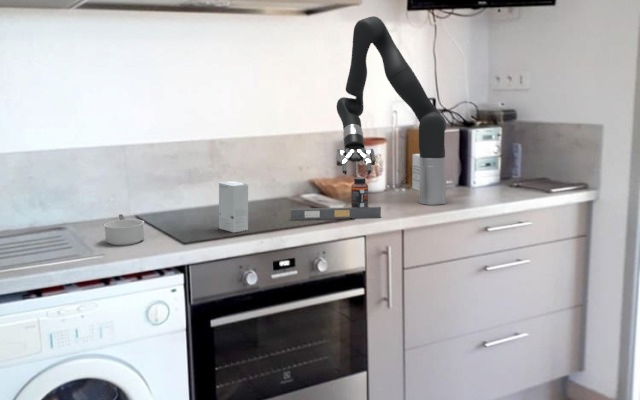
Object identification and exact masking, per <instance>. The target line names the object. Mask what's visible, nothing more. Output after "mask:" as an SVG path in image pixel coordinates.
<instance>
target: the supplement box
mask: <svg viewBox="0 0 640 400" xmlns="http://www.w3.org/2000/svg"><path fill="white" fill-rule="evenodd" d="M411 169H412V179H411V180H412V181H411V182H412V183H411V184H412V190H415V191H418V192H419V171H420V153H412V168H411Z"/></svg>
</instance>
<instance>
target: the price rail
mask: <svg viewBox="0 0 640 400" xmlns="http://www.w3.org/2000/svg"><path fill="white" fill-rule="evenodd" d="M381 209H382V208H381V206H368V207H352V206H351V207H349V206H348V207H318V208H290V221H309V220H310V221H313V220H315V221H317V219H320V220H347V219H349V220H350V218H352V220H353V219H354V220H355V219H381V218H382V217H381V215H382V214H381V213H382V212H381Z"/></svg>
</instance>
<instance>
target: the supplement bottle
mask: <svg viewBox="0 0 640 400" xmlns="http://www.w3.org/2000/svg"><path fill="white" fill-rule="evenodd" d="M353 179H354V180H353V183H352V184H351V203H350V204H351V207H369V185H368V184H367V183H366V177H354V178H353Z"/></svg>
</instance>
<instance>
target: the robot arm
mask: <svg viewBox="0 0 640 400" xmlns="http://www.w3.org/2000/svg"><path fill="white" fill-rule="evenodd" d="M372 44H373V46H374V47H375V48H376V50H377V51H378V53H379V55H380V57H381V60H382V64H383V69H384V74H385V77H386V79H387V81H388V82H389V84H390V85H391V87H392V88H393V90H394V91H395V92H396V94H397V96H399V97H400V98H401V99H402V101H403V102H405V103H406V104H407V106H408V107H410V109H411V110H412V113H414V115H415V116H416V118H417V120H418V122H419V123H418V151H419V154H420V171H419V191H418V203H419V204H421V205H426V206H427V205H429V206H437V205H438V206H439V205H443V204H446V203H447V193H446V192H447V178H446V176H445V175H446V173H445V172H446V171H445V169H446V149H445V148H446V147H445V132H446V129H447V121H446V118H445V117H444V116H443V115H442V114H441V112H440V111H439V110H438V109H437V108H436V107H435V105H434V104H433V102H432V101H431V100H430V99H429V97H428V95H427V94H426V91H425V89H424V87H423V86H422V84H421V82H420V80H419V79H418V78H417V76H416V74H415V72H414V71H413V69H412V68H411V66H410V65H409V63H408V62H407V61H406V59H405V58H404V56H403V55H402V52H401V51H400V50H399V48H398V47H397V45H396V44H395V42H394V40H393V38H392V35H391V34H390V32H389V30H388V28H387V27H386V24H385V23H384V22H383V20H382V19H381V18H379V17H378V16H373V15H372V16H368V17H365V18H362V19H360V20H358V21H357V22H356V23H355V25H354V28H353V34H352V49H351V59H350V66H349V67H350V68H349V72H348V76H347V79H346V80H347V81H346V84H345V92H346V93H347V94H348V95H351V96H353V97H355V98H352V97H346V96H344V97H340V98H339V99H338V100H337V102H336V112H337V114H338V117H339V118H340V121H341V123H342V128H343V130H342V131H343V133H342V135H343V138H342V139H343V147H344V150H341V149H339V148H338V149H336V166H337V167H339V166H340V167H341V171H342V174H344V175H346V176H347V173H348V172H347V171H348V170H347V165H348V164H349V163H350V162H352V163H355V162H357V163H359V162H361V163H362V164H363V165H364V164H365V165H366V171H367V172H366V173H367V175H370V174H371V173H372V169H373V168H372V166H375V165H376V155H375V152H374V149H373V148H370V150H367V149H366V148H365V140H364V132H363V130H362V129H363V128H362V120H361V118H360V117H361V115H362V114H363V113H364V91H365V86H366V82H367V77H368V68H367V67H368V66H367V55H368V52H369V49H370V46H371V45H372ZM367 155H368V156H367ZM343 156H344V159H343V160H341V157H343ZM368 157H370V159H369V158H368Z"/></svg>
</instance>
